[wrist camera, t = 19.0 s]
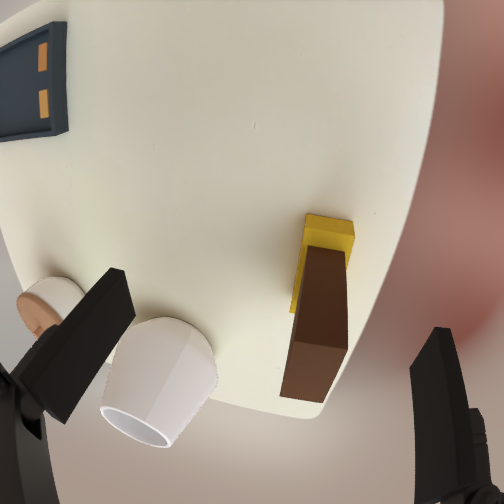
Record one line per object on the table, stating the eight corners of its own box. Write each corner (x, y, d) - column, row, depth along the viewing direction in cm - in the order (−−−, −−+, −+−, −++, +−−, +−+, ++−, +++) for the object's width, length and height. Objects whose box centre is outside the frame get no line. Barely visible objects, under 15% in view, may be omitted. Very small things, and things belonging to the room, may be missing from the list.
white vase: (124, 336, 41) (77, 409, 30) (151, 285, 34) (87, 377, 22) (200, 383, 43) (168, 461, 32) (247, 346, 36) (213, 449, 24)
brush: (306, 213, 25) (288, 319, 15) (353, 221, 25) (365, 331, 14) (292, 295, 30) (269, 405, 20) (331, 302, 30) (324, 413, 19)
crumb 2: (56, 86, 22) (46, 89, 21) (57, 114, 24) (48, 117, 23) (48, 88, 23) (38, 91, 22) (49, 115, 24) (40, 118, 23)
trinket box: (97, 331, 43) (67, 374, 35) (48, 296, 42) (15, 332, 34) (103, 290, 37) (63, 339, 29) (46, 250, 36) (3, 289, 28)
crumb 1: (56, 41, 20) (46, 42, 19) (55, 68, 21) (46, 69, 20) (48, 44, 20) (38, 45, 19) (47, 70, 22) (38, 72, 20)
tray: (67, 21, 19) (53, 21, 17) (68, 130, 26) (55, 136, 24) (-12, 59, 22) (-23, 61, 20) (-7, 140, 28) (-18, 145, 26)
